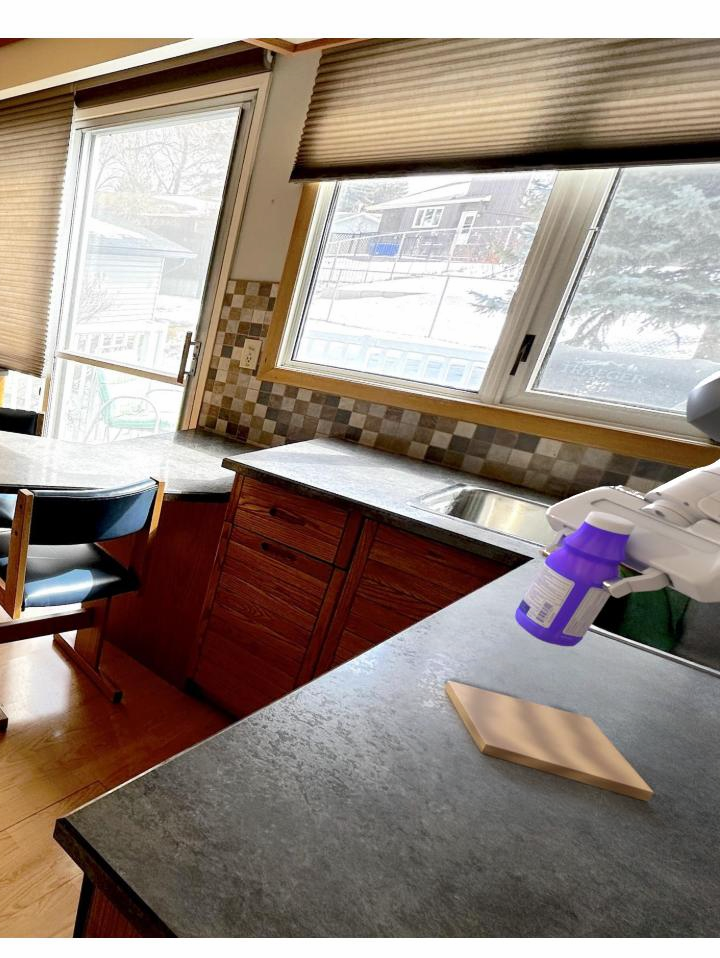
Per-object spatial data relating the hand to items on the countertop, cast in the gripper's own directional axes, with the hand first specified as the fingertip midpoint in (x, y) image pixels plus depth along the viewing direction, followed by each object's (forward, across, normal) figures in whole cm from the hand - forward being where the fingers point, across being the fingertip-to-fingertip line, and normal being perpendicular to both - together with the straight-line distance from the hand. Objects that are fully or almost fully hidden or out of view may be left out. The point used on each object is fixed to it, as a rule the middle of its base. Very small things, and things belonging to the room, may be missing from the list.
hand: (575, 573), depth 78 cm
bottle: (+6, 0, +7) cm, 10 cm away
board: (+15, +6, +16) cm, 23 cm away
